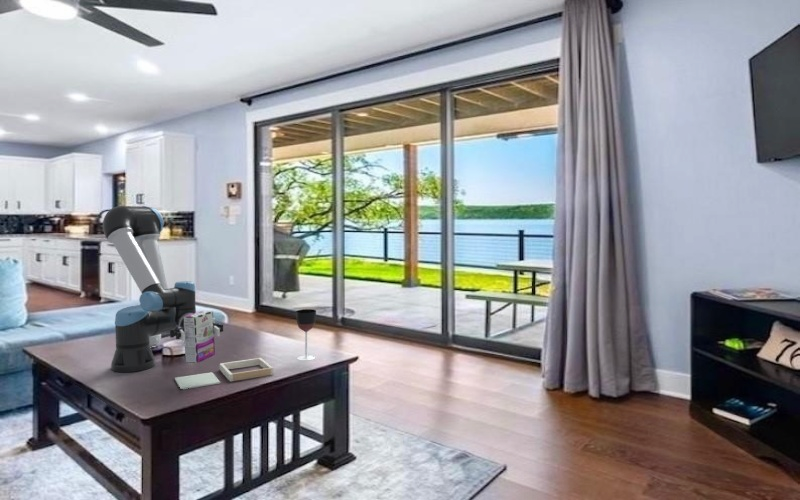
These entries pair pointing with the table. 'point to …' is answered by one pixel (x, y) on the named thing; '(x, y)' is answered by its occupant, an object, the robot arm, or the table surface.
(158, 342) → the teacup
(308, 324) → the wineglass
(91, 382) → the table surface
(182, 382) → the rubber mat
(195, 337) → the candy bar box
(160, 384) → the table surface
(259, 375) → the cream rectangular open frame
